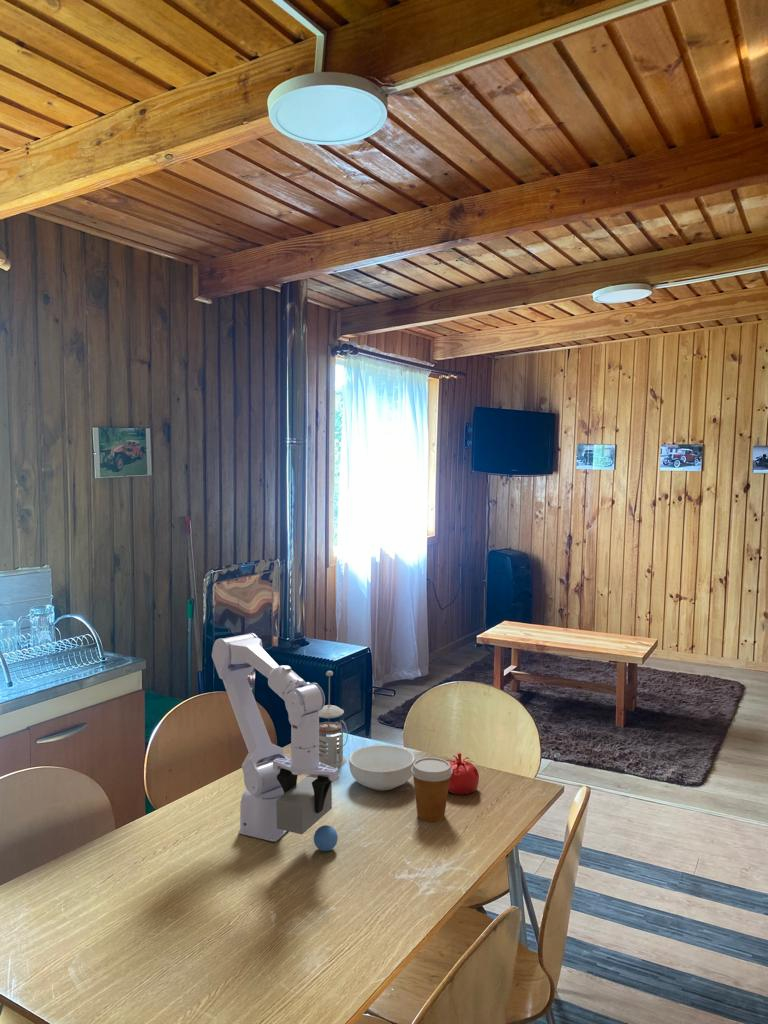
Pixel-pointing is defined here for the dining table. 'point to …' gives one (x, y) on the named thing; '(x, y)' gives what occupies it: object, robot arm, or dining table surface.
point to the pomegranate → (463, 776)
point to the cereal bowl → (381, 766)
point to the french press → (332, 755)
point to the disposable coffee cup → (431, 787)
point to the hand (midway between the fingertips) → (305, 808)
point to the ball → (325, 838)
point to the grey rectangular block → (300, 807)
